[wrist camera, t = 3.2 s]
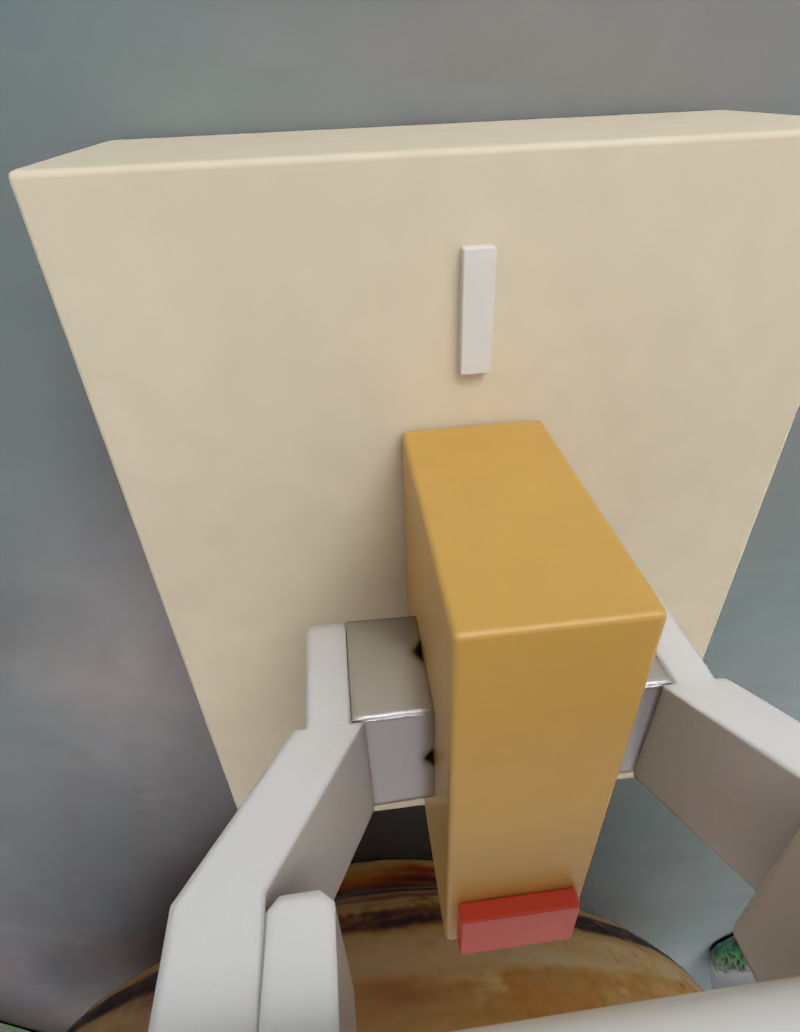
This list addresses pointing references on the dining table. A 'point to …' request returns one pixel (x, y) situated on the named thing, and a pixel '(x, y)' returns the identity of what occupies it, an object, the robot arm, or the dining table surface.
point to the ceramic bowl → (448, 965)
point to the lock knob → (519, 673)
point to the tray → (10, 1028)
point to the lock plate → (418, 355)
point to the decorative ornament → (729, 965)
